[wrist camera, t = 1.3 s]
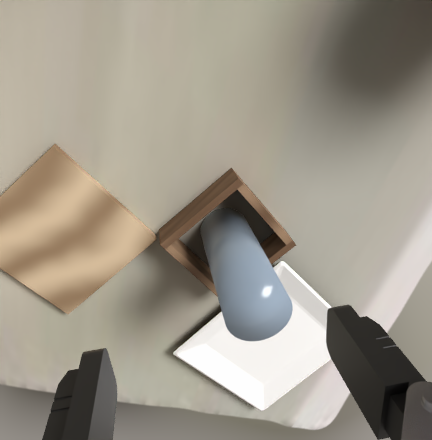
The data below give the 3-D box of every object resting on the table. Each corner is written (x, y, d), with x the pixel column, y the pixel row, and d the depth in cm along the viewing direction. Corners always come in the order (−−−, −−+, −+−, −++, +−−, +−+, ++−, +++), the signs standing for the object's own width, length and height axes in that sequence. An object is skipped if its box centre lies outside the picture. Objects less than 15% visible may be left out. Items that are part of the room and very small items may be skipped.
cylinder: (190, 229, 42) (210, 316, 29) (227, 198, 41) (266, 272, 28) (220, 259, 45) (252, 351, 31) (257, 230, 44) (305, 312, 30)
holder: (158, 229, 42) (159, 244, 39) (231, 167, 40) (238, 178, 37) (218, 284, 46) (223, 301, 43) (285, 230, 44) (296, 245, 41)
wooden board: (-40, 234, 38) (-44, 238, 37) (55, 143, 36) (52, 146, 35) (69, 308, 44) (68, 314, 43) (156, 235, 42) (156, 239, 41)
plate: (354, 327, 54) (362, 337, 52) (258, 401, 57) (262, 413, 55) (277, 252, 46) (283, 261, 44) (171, 343, 49) (172, 354, 48)
